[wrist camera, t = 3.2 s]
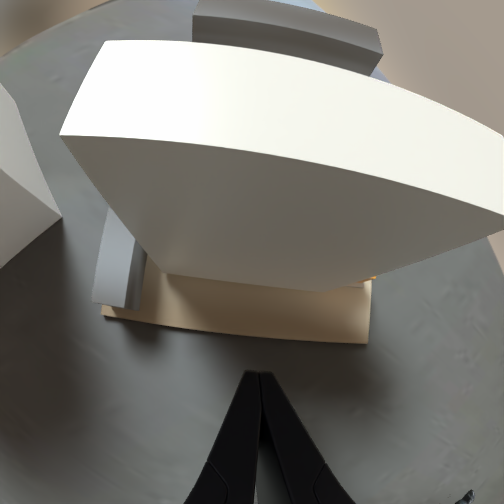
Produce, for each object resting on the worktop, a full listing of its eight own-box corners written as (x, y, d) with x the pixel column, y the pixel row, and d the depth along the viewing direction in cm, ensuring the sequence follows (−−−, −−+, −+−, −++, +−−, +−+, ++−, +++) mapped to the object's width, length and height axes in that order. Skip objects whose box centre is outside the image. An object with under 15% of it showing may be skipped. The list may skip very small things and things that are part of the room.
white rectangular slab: (358, 296, 16) (561, 238, 5) (162, 272, 15) (59, 135, 4) (359, 259, 17) (545, 162, 5) (169, 233, 16) (105, 41, 4)
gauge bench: (364, 343, 17) (472, 347, 9) (103, 314, 15) (16, 301, 7) (364, 126, 20) (426, 45, 12) (156, 91, 18) (142, -13, 10)
